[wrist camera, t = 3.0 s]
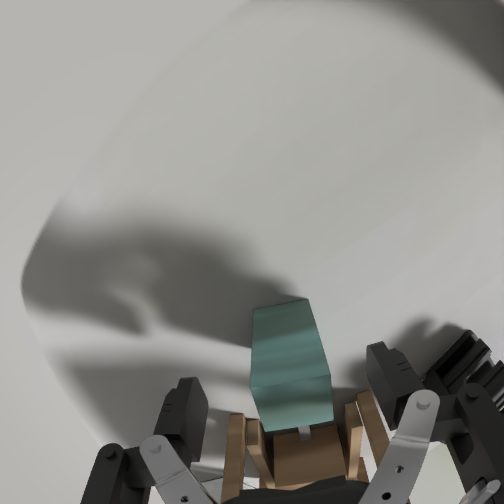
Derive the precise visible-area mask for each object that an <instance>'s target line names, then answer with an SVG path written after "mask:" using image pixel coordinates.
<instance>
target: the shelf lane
mask: <svg viewBox="0 0 504 504" xmlns="http://www.w3.org/2000/svg"><path fill="white" fill-rule="evenodd" d="M357 405H358V408H359V411H360V414H361V417H362V420H363V423H364V426H365V430H366V433H367V436H368V439H369V442H370V446H371V449H372V452H373V456H374V459H375V462H376V466H377V469H378V467H379V465H380V463H381V461H382V459H383V457H384V454H385V452H386V450H387V448H388V446H389V444H390V441H389V438H388V436H387V433H386V430H385V427H384V425H383V422H382V420H381V417H380V414H379V412H378V409H377V407H376V404H375V401H374V399H373V396H372V394H371V391H370V390H369V391H365V392H362V393H358V394H357ZM357 405H356V402H352V403H348V404H345V447H344V461H345V466H346V471H347V480H358V481H364V482H368V483H369V479H368V475H367V471H366V468H365V464H364V460H363V457H362V458H359V457H360V450H361V441H362V431H363V424H362V421H361V418H360V414H359V411H358V408H357ZM246 425H247V421H246V419H245V416H244V414H237V415H230V421H229V430H228V438H227V447H226V456H225V465H224V474H223V483H222V493H221V502H220V504H221V503H223V502H224V501H226V500H228V499H230V498H233V497H236V496H239V490H243V479H244V461H245V443H246ZM246 446H247V448H248V450H249V452H250V454H251V456H252V458H253V460H254V462H255V464H256V466H257V468H258V470H259V472H260V474H261V475H260V479H259V488H270V489H275V475H274V460H273V457H272V455H271V452H270V450H269V447H268V444H267V442H266V439H265V436H264V434H263V431H262V428H261V426H260V423H259V420H250V421H248V425H247V444H246ZM407 503H409V504H411V503H410V500H409V498H408V500H407Z"/></svg>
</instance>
